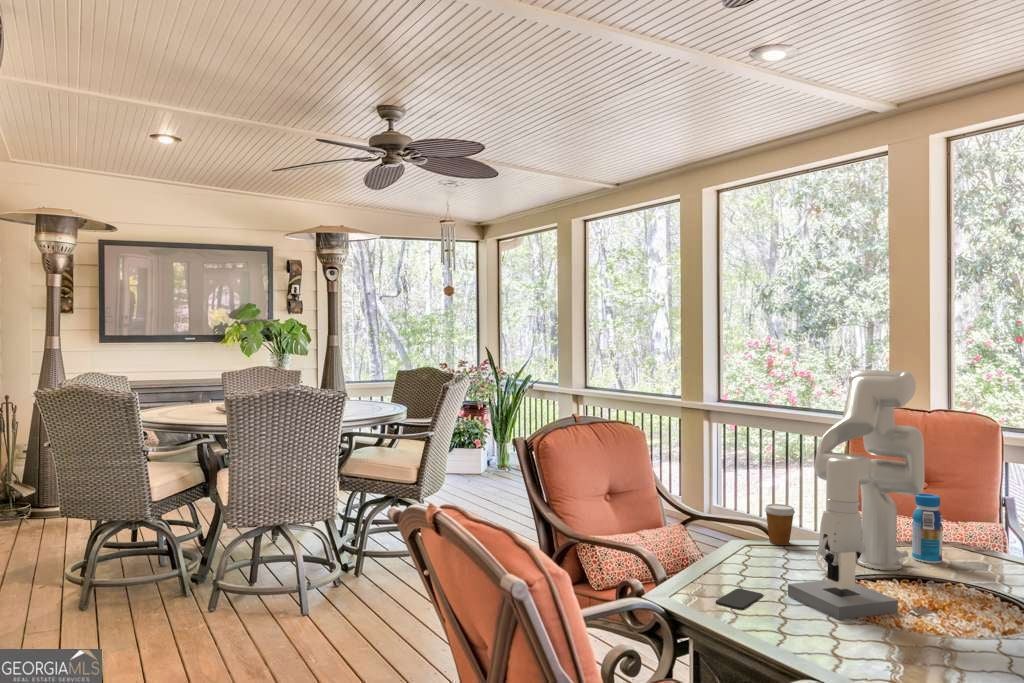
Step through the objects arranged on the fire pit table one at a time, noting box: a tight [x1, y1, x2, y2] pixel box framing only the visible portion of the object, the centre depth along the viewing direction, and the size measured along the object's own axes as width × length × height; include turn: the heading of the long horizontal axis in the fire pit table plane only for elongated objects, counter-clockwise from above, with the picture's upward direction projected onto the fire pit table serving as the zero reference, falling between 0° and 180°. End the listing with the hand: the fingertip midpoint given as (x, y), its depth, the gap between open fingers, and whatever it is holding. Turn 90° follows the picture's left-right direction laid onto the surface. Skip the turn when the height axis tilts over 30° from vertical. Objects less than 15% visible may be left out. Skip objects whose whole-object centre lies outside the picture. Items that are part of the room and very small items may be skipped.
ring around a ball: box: [815, 552, 828, 574], centre depth 212 cm, size 8×6×8 cm
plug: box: [827, 552, 856, 589], centre depth 187 cm, size 4×4×10 cm
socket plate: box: [787, 579, 899, 621], centre depth 187 cm, size 18×18×3 cm
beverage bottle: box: [911, 493, 944, 564], centre depth 228 cm, size 8×8×20 cm
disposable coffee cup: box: [764, 503, 796, 546], centre depth 247 cm, size 10×10×12 cm
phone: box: [715, 588, 764, 611], centre depth 189 cm, size 7×1×15 cm
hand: (841, 578), depth 187 cm, fingers closed on plug, 4 cm apart
